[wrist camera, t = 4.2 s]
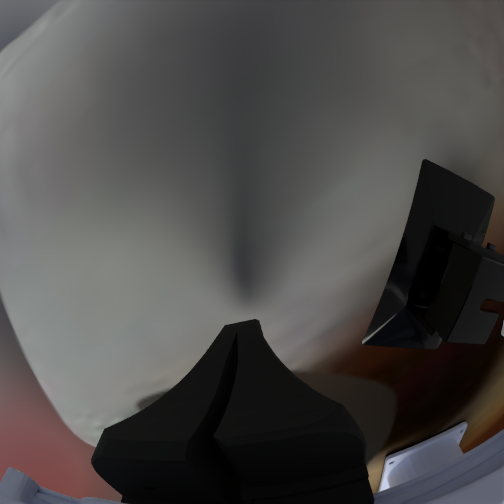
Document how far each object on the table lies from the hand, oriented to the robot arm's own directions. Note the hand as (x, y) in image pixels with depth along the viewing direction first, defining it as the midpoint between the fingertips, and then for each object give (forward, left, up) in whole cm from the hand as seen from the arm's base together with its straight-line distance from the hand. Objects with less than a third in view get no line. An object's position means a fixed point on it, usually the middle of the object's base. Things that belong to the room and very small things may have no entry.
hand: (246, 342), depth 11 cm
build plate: (0, -10, -3) cm, 10 cm away
